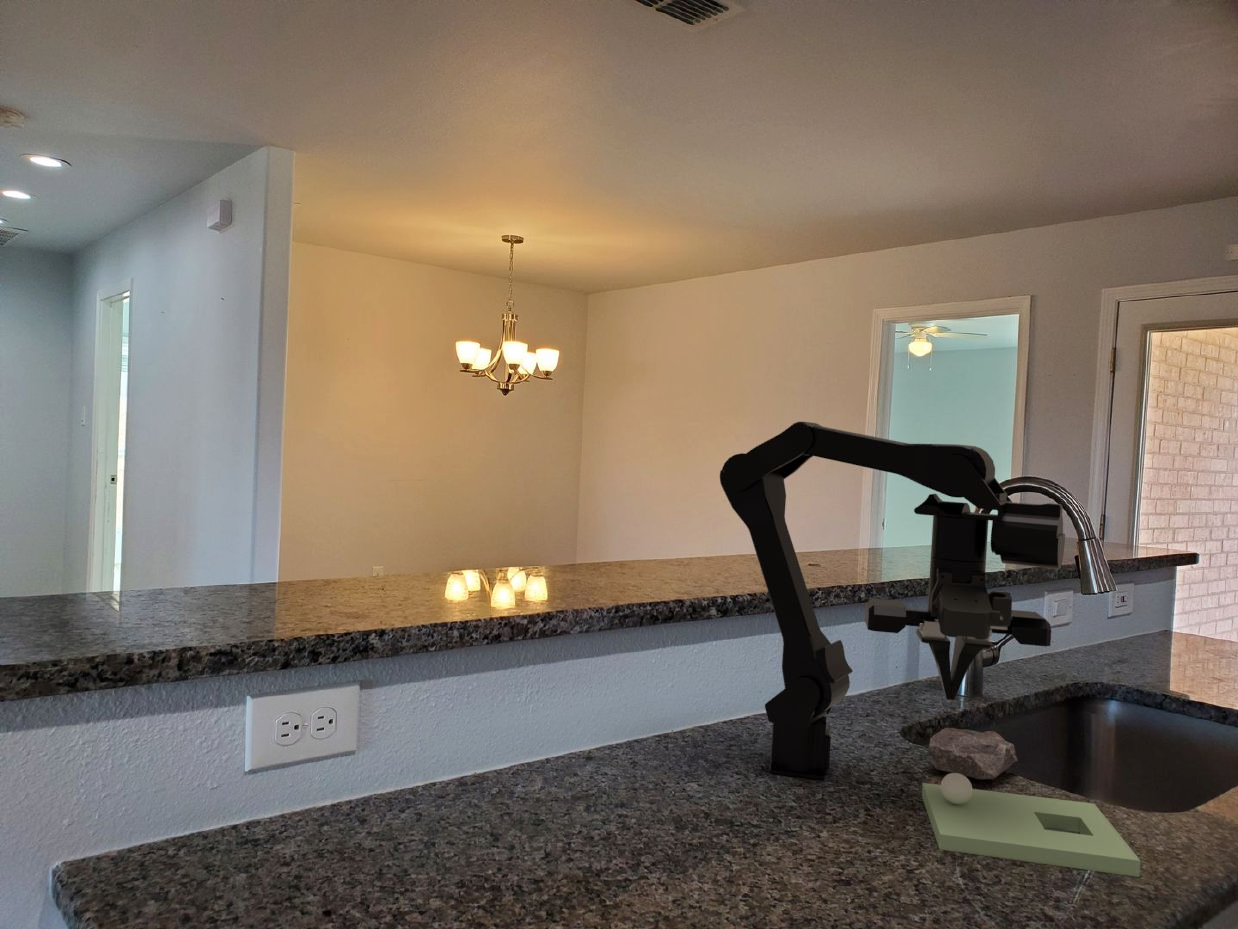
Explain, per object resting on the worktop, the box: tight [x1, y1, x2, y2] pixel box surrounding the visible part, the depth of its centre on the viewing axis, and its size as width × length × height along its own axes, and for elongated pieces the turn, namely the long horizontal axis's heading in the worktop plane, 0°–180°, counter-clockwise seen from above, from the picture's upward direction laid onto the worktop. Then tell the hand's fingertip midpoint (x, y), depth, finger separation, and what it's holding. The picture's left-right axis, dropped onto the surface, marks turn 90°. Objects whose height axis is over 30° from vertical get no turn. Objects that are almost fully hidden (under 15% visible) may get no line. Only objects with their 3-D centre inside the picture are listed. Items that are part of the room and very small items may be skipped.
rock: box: [928, 727, 1019, 780], centre depth 111 cm, size 8×11×5 cm
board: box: [921, 782, 1141, 878], centre depth 94 cm, size 18×14×2 cm
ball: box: [940, 772, 973, 804], centre depth 97 cm, size 3×3×3 cm
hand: (949, 699), depth 100 cm, fingers closed
